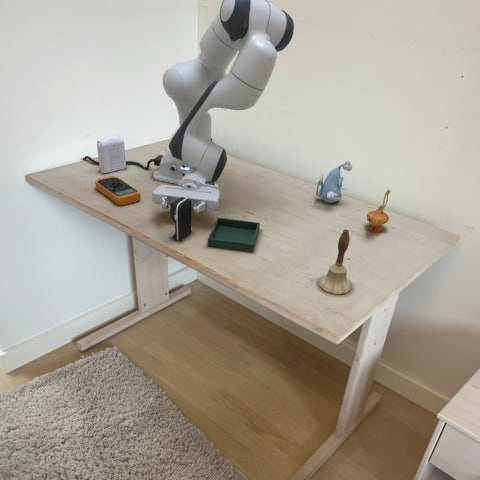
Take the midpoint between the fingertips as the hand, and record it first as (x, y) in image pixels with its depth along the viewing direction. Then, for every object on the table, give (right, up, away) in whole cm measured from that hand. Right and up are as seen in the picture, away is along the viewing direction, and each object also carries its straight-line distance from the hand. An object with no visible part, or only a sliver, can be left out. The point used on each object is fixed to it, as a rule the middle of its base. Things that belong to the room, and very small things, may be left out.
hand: (180, 208), depth 144 cm
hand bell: (+42, -23, -13) cm, 50 cm away
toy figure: (+49, +9, +30) cm, 58 cm away
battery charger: (0, -7, +4) cm, 8 cm away
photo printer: (-30, +24, +42) cm, 57 cm away
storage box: (+16, -8, +4) cm, 18 cm away
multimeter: (-24, +10, +24) cm, 36 cm away
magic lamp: (+60, -4, +14) cm, 61 cm away
